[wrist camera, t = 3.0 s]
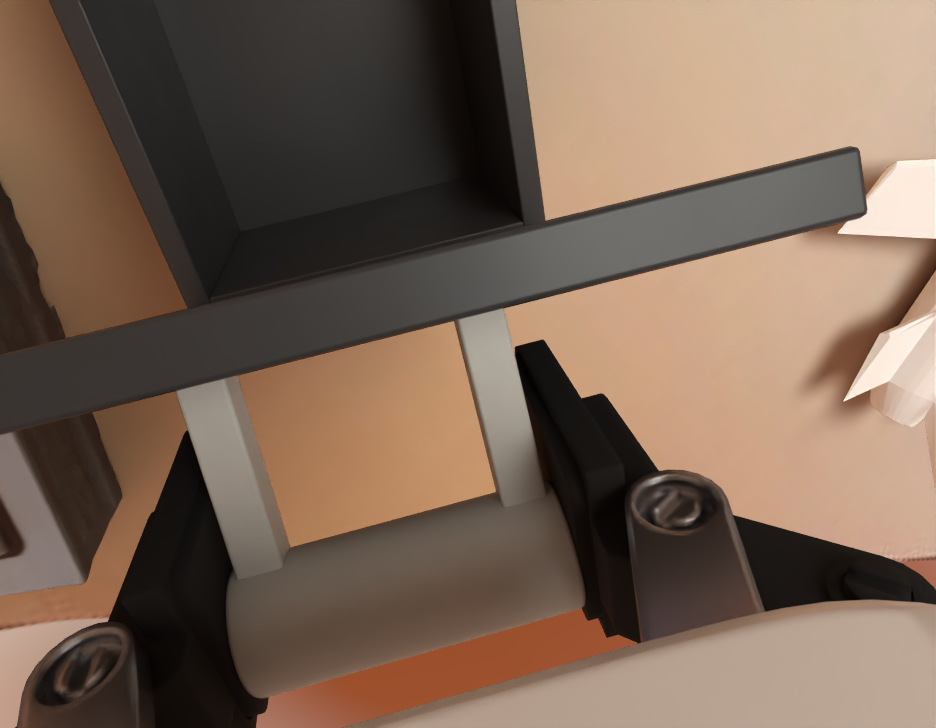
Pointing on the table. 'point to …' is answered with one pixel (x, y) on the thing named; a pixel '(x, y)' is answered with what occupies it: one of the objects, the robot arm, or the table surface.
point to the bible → (45, 451)
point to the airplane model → (928, 320)
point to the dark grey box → (310, 129)
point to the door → (494, 393)
